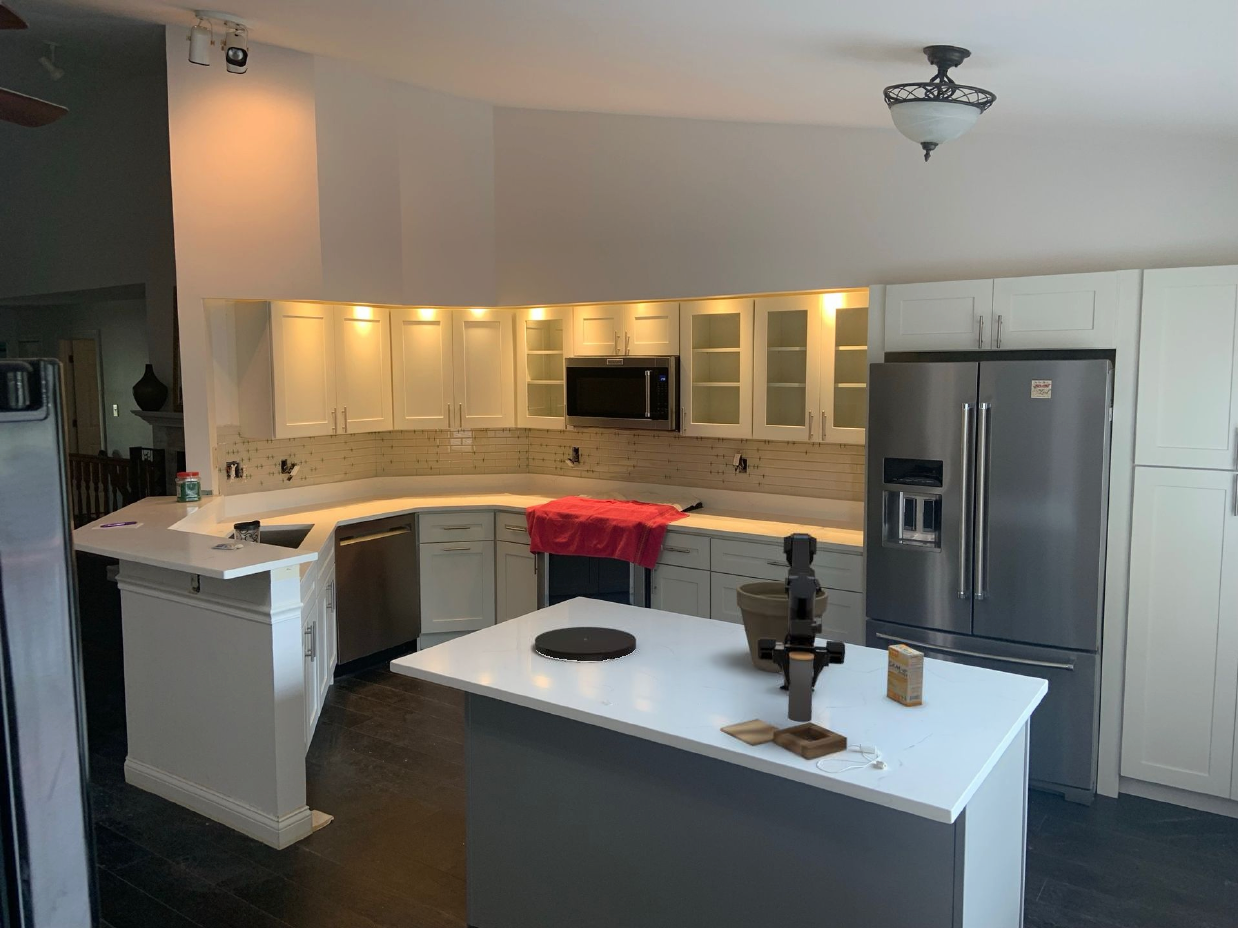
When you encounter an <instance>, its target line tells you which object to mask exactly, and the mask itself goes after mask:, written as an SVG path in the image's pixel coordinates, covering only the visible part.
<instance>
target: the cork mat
mask: <svg viewBox="0 0 1238 928" xmlns="http://www.w3.org/2000/svg"><path fill="white" fill-rule="evenodd" d="M719 730H720V731H722V732H723V733H725V734H728V735H730V736H732V737H733V738H735V737H736V738H735V739H737V740H739V741H741V742H743V743H745V744H748V745H749V746H752V747H753V746H757V745H762V744H765V743H769V742H773V732H774V731H778V730H781V728H779V727H776V726H775V725H772V724H770V723H767V722H765V721H763V720H761V719H759V718H755V719H750V720H747V721H743V722H740V723H739V722H738V723H735V724H731V725H727V726H723V727H720V729H719Z"/></svg>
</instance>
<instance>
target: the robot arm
mask: <svg viewBox="0 0 1238 928" xmlns="http://www.w3.org/2000/svg"><path fill="white" fill-rule="evenodd" d="M817 541H818V539H817V538H816V537H815V536H812V534H809V533H805V532H804V533H803V532H801V533H800V532H793V533H790V535H787V536H784V537H783V546H782V548H783V549H782V551H783V554H785V562H786V564H787V566H788V567H789V569H788V570H787V577H785V578H784V582H785V593H787V594H788V598H789V613H788V633H787V634H786V636H785V638H784V643H776V638H767V637H760V638H759V639H758V659H760V660H773V663H774V664H777V665H778V666H779V668H780V670H781V672H782V673H781V674H782V676H783V685H780V686H779V689H781V690H783V691H786V692H788V693H789V665H790V657H789V653H790V652H796V651H800V652H808V653H812V654H814V659H813V680H812V692H815V686H816V684H817V682H818V679H819V676H820V674H821V673H822V671H823V669H824V668H825V667H829V666H830V665H843V664H845V656H846V643H844V642H843V641H840V640H837V641H836V640H826V643H825V646H817V645H815V642H816V641H815V640H816V637H815V634H816V635H817V634H818V635H819V634H820V635H821V634H822V631H823V617H822V618H814V605H815V595H819V592H821V588H822V584H821V583H820V581H819V579H818V578H816V571H815V569H814V568H812V567H811V565H812V564H813V562H814V559H815V557H814V556H816V555H817V552H818V551H817V550H818V543H817Z"/></svg>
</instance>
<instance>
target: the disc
mask: <svg viewBox="0 0 1238 928" xmlns="http://www.w3.org/2000/svg"><path fill="white" fill-rule="evenodd" d="M534 643H535V644H534V648H535V649H536V650H537V651H538V652H540V653H541V654H544V655H546V656H550V657H553V658H559V659H567V660H577V661H603V660H607V659H615V658H620V657H622V656H626V655H628V654H630V653H632V652H633V651H634V650H635V649H637V639H636V637H635V635H634V634H631V632H627V631H625V630H620V629H615V628H610V627H601V626H600V627H599V626H598V627H597V626H577V627H576V626H575V627H565V628H564V627H563V628H558V629H557V628H556V629H552V630H549V631H545V632H542V633H540V634H539V635H536V637H535V638H534ZM535 649H534V650H535ZM536 650H535V651H536ZM635 651H636V650H635ZM632 654H633V653H632Z"/></svg>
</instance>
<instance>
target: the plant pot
mask: <svg viewBox="0 0 1238 928" xmlns="http://www.w3.org/2000/svg"><path fill="white" fill-rule="evenodd" d="M828 599H829V592H828V591H827V590H826V589H824V588H822V587H821V592H819V595H815V605H814V618H822V619H823V614H824V613H826V612H827V607H828ZM736 605H737V606H738V607H739V608H740V614H741V618H742V622H743V627H744V631H745V636H746V640H747V644H748V645H747V646H748V649H749V653H750V657H751V662H752V664H753V666H754V667H756V668H757V669H760V670H762V671H765V670H766V671H765V672H770V673H777V672H781V670H780V668H779V666H778V665H777V664H774V663H773V660H760V659H758V639H759V638H760V637H767V638H776V643H784V638H785V636H786V634H787V633H788V613H789V598H788V594H787V593H785V581H777V580H776V581H774V580H771V581H770V580H769V581H768V580H767V581H766V580H765V581H764V580H762V581H761V580H760V581H751V582H745V583H742V584H739V585H737V586H736ZM816 637H817V634H815V638H816ZM780 674H782V672H781V673H780Z"/></svg>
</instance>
